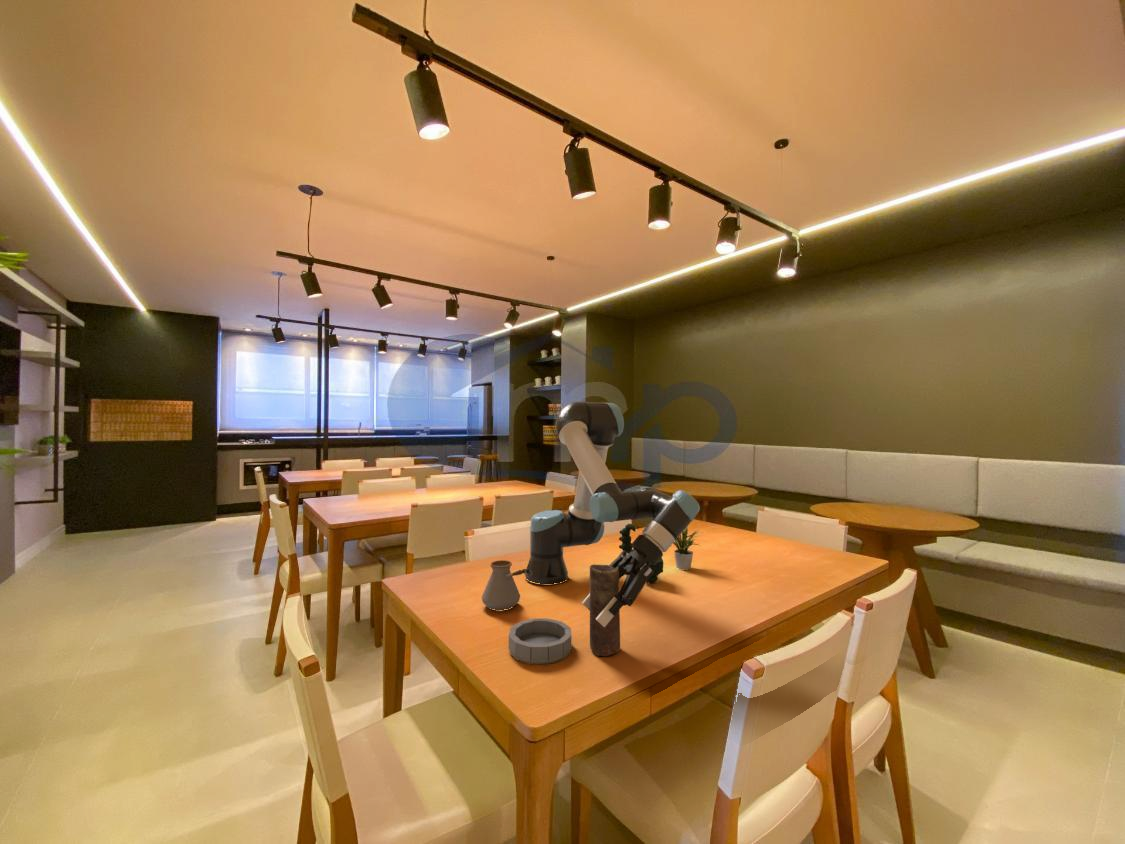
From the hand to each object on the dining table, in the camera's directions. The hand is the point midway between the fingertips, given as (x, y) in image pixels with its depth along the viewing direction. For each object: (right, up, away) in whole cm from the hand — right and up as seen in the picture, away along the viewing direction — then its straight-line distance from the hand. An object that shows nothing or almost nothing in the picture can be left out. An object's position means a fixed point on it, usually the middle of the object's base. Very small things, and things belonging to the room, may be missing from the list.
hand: (592, 614), depth 107 cm
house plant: (+40, -10, +63) cm, 75 cm away
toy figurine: (+21, -10, +53) cm, 58 cm away
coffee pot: (-23, -9, +23) cm, 33 cm away
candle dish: (-13, -9, +1) cm, 15 cm away
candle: (+3, -9, +1) cm, 10 cm away
